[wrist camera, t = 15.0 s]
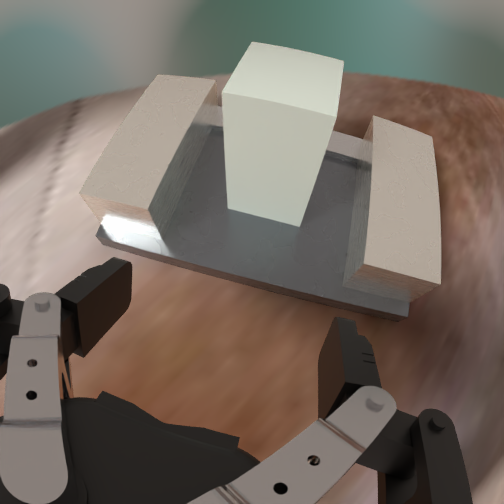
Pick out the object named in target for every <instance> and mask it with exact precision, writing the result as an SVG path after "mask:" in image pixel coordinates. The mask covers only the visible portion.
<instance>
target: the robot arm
mask: <svg viewBox="0 0 504 504" xmlns="http://www.w3.org/2000/svg"><path fill="white" fill-rule="evenodd" d="M131 292H132V264H131V262H129V261H125V260H122V259H119V258H115V257H113V258H111V259H110V260H108V261H107V262H105V263H104V264H103V265H99V266H96V267H93V268H90V269H88V270H86V271H85V272H83V273H82V274H81V276H78V277H77V278H75V279H74V281H71V282H70V283H68V284H67V285H66V286H64V287H63V288H62V289H60V290H59V291H58V292H56V293H55V294H52V293H46V292H43V293H36V294H33V295H31V296H29V297H28V298H27V299H26V300H25V301H19V300H14V299H11V297H10V291H9V288H8V287H7V286H5V285H3V284H0V380H1V379H2V378H3V377H4V376H5V374H6V373H7V376H6V387H5V401H4V416H1V417H0V504H316V503H317V502H318V501H319V500H320V499H321V498H322V497H323V496H324V495H325V494H326V493H327V492H328V491H329V490H330V489H331V488H332V487H333V486H334V485H335V484H336V483H337V482H338V481H339V480H340V479H341V478H342V477H343V476H344V475H345V474H346V473H347V472H348V470H349V469H350V468H351V467H352V466H353V465H354V464H355V463H358V464H360V465H363V466H366V467H368V468H371V469H374V470H377V473H378V504H473V503H472V497H471V492H470V487H469V483H468V478H467V473H466V469H465V465H464V461H463V457H462V453H461V449H460V445H459V442H458V438H457V434H456V431H455V427H454V424H453V422H452V420H451V419H450V418H449V417H448V416H447V415H446V414H445V413H443V412H442V411H439V410H437V409H426V410H424V411H422V412H421V413H420V415H419V416H418V417H415V416H412V415H410V414H407V413H404V412H402V411H399V410H398V409H396V402H395V400H394V398H393V397H392V396H391V395H390V394H389V393H388V392H387V391H385V390H383V389H382V387H381V383H380V378H379V374H378V370H377V365H376V364H375V363H376V361H375V357H374V353H373V349H372V345H371V344H370V343H369V341H368V340H367V339H366V337H365V336H361V335H358V332H357V328H356V323H355V321H353V320H349V319H344V318H340V317H335V318H334V320H333V322H332V324H331V327H330V329H329V332H328V334H327V337H326V339H325V342H324V344H323V346H322V349H321V352H320V356H319V361H318V420H316V421H315V422H314V423H313V424H311V425H310V426H309V427H308V428H306V429H305V430H304V431H303V432H301V433H300V434H299V435H298V436H296V437H295V438H294V439H292V440H291V441H290V442H288V443H287V444H286V445H285V446H283V447H282V448H281V449H279V450H278V451H276V452H275V453H274V454H272V455H271V456H270V457H268V458H267V459H265V460H264V461H262V462H260V461H258V460H257V459H256V458H255V457H253V456H252V455H250V454H249V453H247V452H245V451H244V450H242V449H240V448H238V447H237V446H238V442H239V438H240V437H236V436H232V435H228V434H224V433H220V432H217V431H213V430H209V429H206V428H200V427H190V426H181V425H173V424H166V423H163V422H161V421H159V420H158V419H156V418H154V417H153V416H151V415H150V414H148V413H147V412H145V411H144V410H142V409H140V408H139V407H137V406H136V405H134V404H133V403H130V402H128V401H126V400H123V399H121V398H118V397H116V396H114V395H111V394H109V393H107V392H104V391H102V392H101V394H100V395H99V396H98V398H97V399H94V398H80V397H78V398H74V395H73V386H72V376H71V364H70V358H69V356H70V355H71V354H72V353H75V354H77V355H79V356H81V357H83V358H84V357H85V356H86V355H87V354H88V352H89V351H90V350H91V349H92V348H93V347H94V346H95V345H96V343H97V342H98V341H99V340H100V339H101V338H102V337H103V336H104V335H105V333H106V332H107V331H108V330H109V329H110V328H111V327H112V326H113V325H114V324H115V322H116V321H117V320H118V319H119V318H120V317H121V316H122V315H123V314H124V313H125V312H126V310H127V309H128V307H129V305H130V302H131Z"/></svg>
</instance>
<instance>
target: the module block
mask: <svg viewBox="0 0 504 504" xmlns="http://www.w3.org/2000/svg"><path fill="white" fill-rule="evenodd" d="M343 64H344V61H341V60H338V59H334V58H330V57H326V56H322V55H318V54H314V53H309V52H305V51H301V50H296V49H291V48H286V47H281V46H276V45H269V44H264V43H257V42H252V43H251V45H250V46H249V48H248V49H247V51H246V52H245V54H244V56H243V57H242V59H241V61H240V62H239V64H238V65H237V67H236V69H235V70H234V72H233V74H232V75H231V77H230V79H229V80H228V82H227V84H226V86H225V87H224V89H223V91H222V111H223V132H224V151H225V170H226V187H227V204H228V209H232V210H236V211H240V212H244V213H248V214H252V215H256V216H260V217H264V218H267V219H271V220H275V221H279V222H283V223H287V224H291V225H294V226H298V227H300V224H301V222H302V219H303V216H304V213H305V210H306V207H307V204H308V202H309V199H310V196H311V193H312V190H313V187H314V184H315V181H316V178H317V175H318V172H319V169H320V166H321V164H322V161H323V158H324V155H325V151H326V148H327V145H328V142H329V139H330V136H331V133H332V130H333V127H334V124H335V121H336V118H337V111H338V104H339V97H340V89H341V82H342V74H343V66H344V65H343Z"/></svg>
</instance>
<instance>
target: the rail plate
mask: <svg viewBox="0 0 504 504" xmlns="http://www.w3.org/2000/svg"><path fill="white" fill-rule="evenodd" d="M79 194H80V196H81V197H82V198H83V200H84V201H85V202H86V204H87V205H88V207H89V208H90V209H91V211H92V212H93V213H94V215H95V216H96V217H97V219H98V220H99V221H100V223H101V225H100V227H99V229H98V232H97V234H96V237H97V238H98V239H99V241H100V242H101V243H102V244H103V245H106V246H109V247H113V248H116V249H119V250H123V251H126V252H129V253H133V254H136V255H140V256H143V257H147V258H150V259H154V260H157V261H161V262H164V263H168V264H171V265H175V266H178V267H182V268H185V269H189V270H193V271H196V272H200V273H203V274H207V275H211V276H215V277H218V278H222V279H226V280H229V281H233V282H237V283H241V284H245V285H248V286H252V287H256V288H260V289H264V290H268V291H272V292H276V293H279V294H283V295H287V296H291V297H295V298H299V299H303V300H307V301H312V302H316V303H320V304H324V305H328V306H332V307H336V308H341V309H345V310H349V311H353V312H358V313H362V314H366V315H371V316H375V317H380V318H384V319H388V320H393V321H397V322H399V321H401V320H403V319H405V318H407V317H408V312H409V303H410V302H412V301H414V300H415V299H417V298H419V297H421V296H422V295H424V294H426V293H427V292H429V291H431V290H432V289H434V288H436V287H437V286H439V285H441V223H440V204H439V191H438V180H437V171H436V162H435V154H434V147H433V140H432V137H431V136H429V135H426V134H424V133H421V132H419V131H416V130H414V129H411V128H408V127H406V126H403V125H400V124H397V123H395V122H392V121H389V120H386V119H383V118H380V117H377V116H374V115H373V117H372V119H371V122H370V124H369V126H368V129H367V131H366V133H365V136H364V138H363V139H360V138H357V137H354V136H350V135H347V134H343V133H340V132H336V131H333V130H332V133H331V136H330V139H329V142H328V145H327V148H326V151H325V155H324V158H323V161H322V164H321V166H320V169H319V172H318V175H317V178H316V181H315V184H314V187H313V190H312V193H311V196H310V199H309V202H308V204H307V207H306V210H305V213H304V216H303V219H302V222H301V224H300V227H298V226H294V225H291V224H287V223H283V222H279V221H275V220H271V219H267V218H264V217H260V216H256V215H252V214H248V213H244V212H240V211H236V210H232V209H228V204H227V187H226V170H225V151H224V132H223V111H222V106H218V103H217V86H216V80H213V79H204V78H196V77H186V76H174V75H173V76H172V75H159V74H158V75H157V76H156V77H155V79H154V80H153V81H152V82H151V84H150V85H149V86H148V88H147V89H146V90H145V91H144V93H143V94H142V95H141V97H140V98H139V100H138V101H137V102H136V104H135V105H134V106H133V108H132V109H131V111H130V112H129V113H128V115H127V116H126V118H125V119H124V121H123V122H122V124H121V125H120V127H119V128H118V130H117V131H116V133H115V134H114V136H113V137H112V139H111V140H110V142H109V143H108V145H107V146H106V148H105V150H104V151H103V153H102V154H101V156H100V158H99V159H98V161H97V163H96V164H95V166H94V168H93V169H92V171H91V173H90V175H89V176H88V178H87V180H86V182H85V183H84V185H83V187H82V189H81V191H80V192H79Z"/></svg>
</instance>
